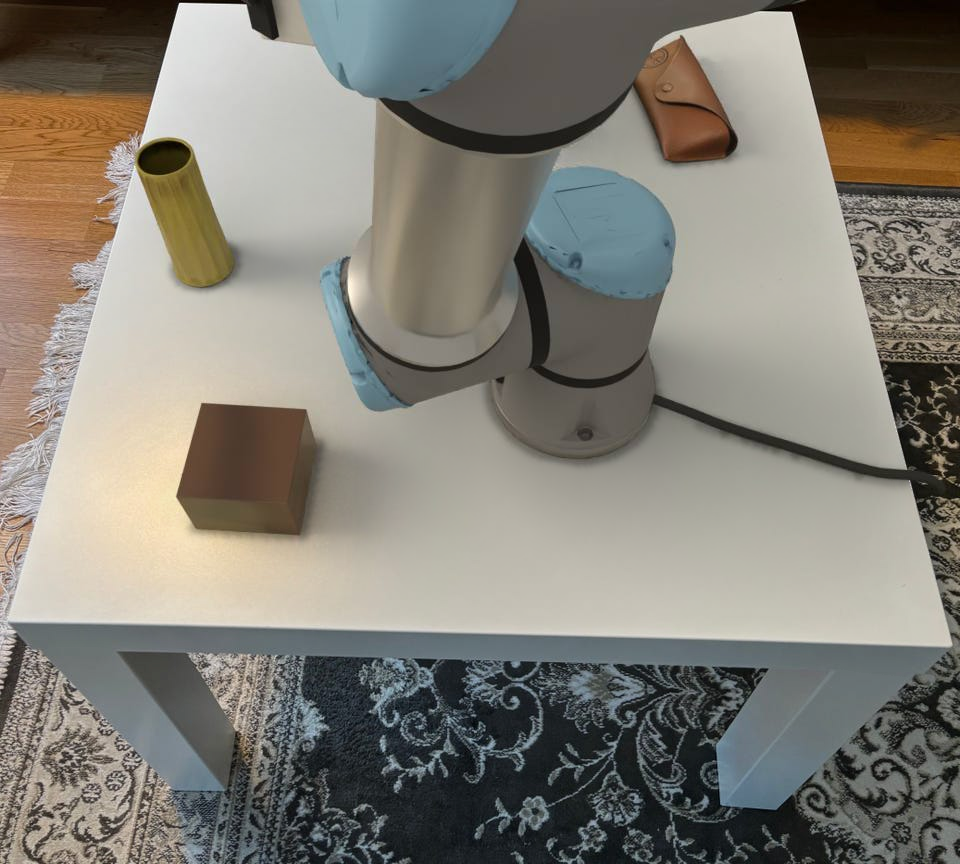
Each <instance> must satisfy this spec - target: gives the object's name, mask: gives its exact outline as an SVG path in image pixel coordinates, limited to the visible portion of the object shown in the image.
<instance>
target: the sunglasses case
mask: <svg viewBox="0 0 960 864" xmlns="http://www.w3.org/2000/svg"><path fill="white" fill-rule="evenodd" d="M632 87H633V89H634V90H635V92H636V94H637V96H638V98H639V101H640V102H641V104H642V106H643V109H644V110H645V112H646V115H647V116H648V119H649V122H650V124H651V126H652V129H653V131H654V134H655V136H656V138H657V141H658V144H659V148H660V150H661V153H662V156H663V158H664V160H665V161H668V162H670V163H695V162H705V161H714V160H722V159H723V160H724V159H725V158H727V157H729V156H731V154H733V153H734V152H735V151H736V149H737V147H738V143H739V137H738V135H737V133H736V131H735V130H734V128H733V126H732V123H731V121H730V118H729V117H728V115H727V113H726V111H725V108H724V106H723V105H722V102H721V101H720V99H719V97H718V95H717V94H716V91H715V89H714V87H713V85H712V83H711V82H710V80H709V79H708V76H707V75H706V73H705V71H704V69H703V67H702V66H701V63H700V62H699V60H698V58H697V57H696V55H695V54H694V52H693V50H692V49H691V47H690V46H689V44H688V42H687V40H686V38H685V37H684V35H682V34H680V35H679V38H677V39H674V40H673V41H670V42H669V43H667V44H665V45H663V46H661V47H659V48H657V49H656V50H654V51H651V52H650V54H649V56H648V58H647V60H646V62H645V64H644V66H643V68H642V69H641V71H640V73H639V75H638V77H637V79H636V81H635V82H634V84H633V86H632Z"/></svg>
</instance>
